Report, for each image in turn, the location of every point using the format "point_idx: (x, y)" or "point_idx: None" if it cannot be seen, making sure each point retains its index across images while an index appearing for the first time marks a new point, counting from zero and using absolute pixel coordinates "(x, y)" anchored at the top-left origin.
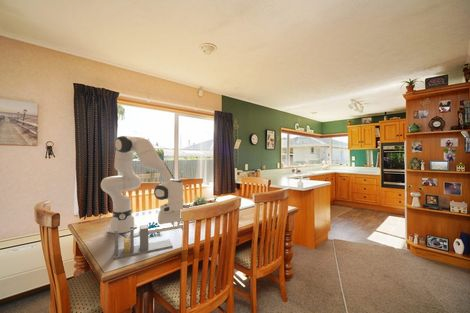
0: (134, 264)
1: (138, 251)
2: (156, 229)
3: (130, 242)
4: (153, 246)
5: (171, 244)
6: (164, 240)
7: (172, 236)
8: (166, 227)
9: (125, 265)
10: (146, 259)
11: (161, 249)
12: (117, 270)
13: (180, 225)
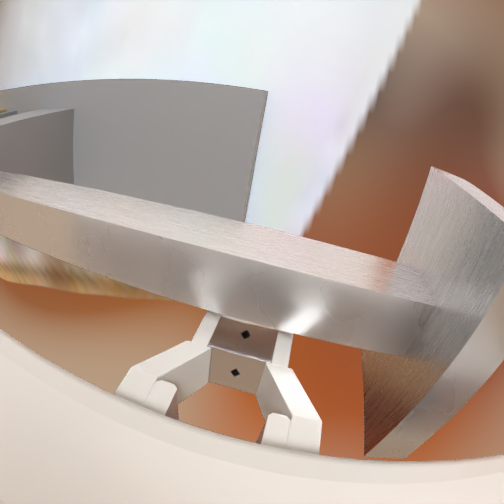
0: (43, 282)
1: None
2: (7, 233)
3: None
4: (102, 165)
5: None
6: (210, 88)
7: (344, 5)
8: (98, 271)
9: (20, 264)
10: (77, 279)
11: None
12: (11, 278)
13: (355, 341)
